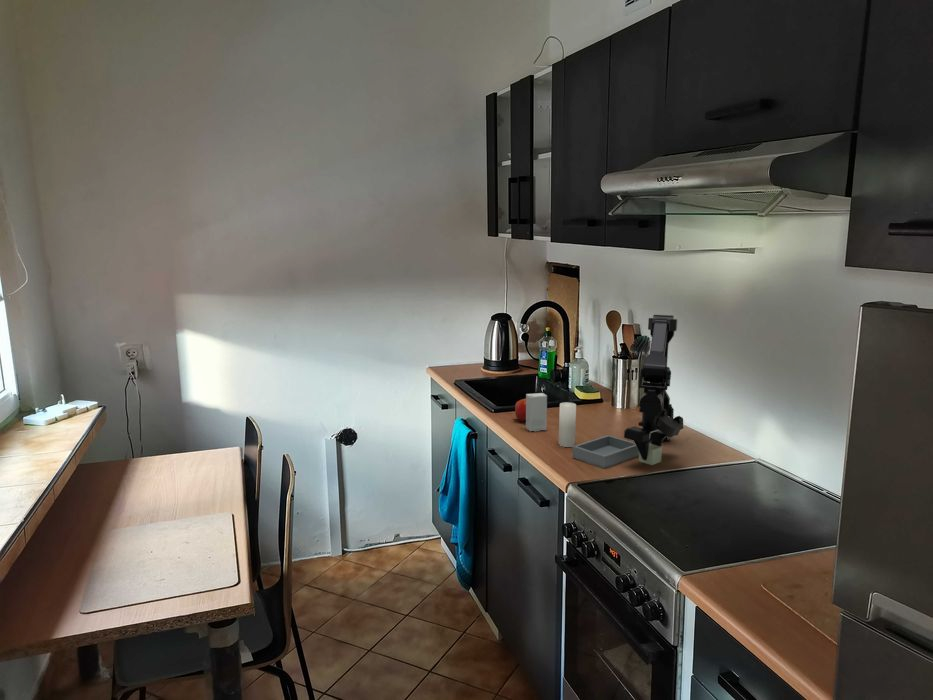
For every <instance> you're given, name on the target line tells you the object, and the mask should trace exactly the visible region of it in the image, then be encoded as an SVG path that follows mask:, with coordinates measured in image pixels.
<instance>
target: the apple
mask: <svg viewBox="0 0 933 700" xmlns="http://www.w3.org/2000/svg"><path fill="white" fill-rule="evenodd" d="M514 409H515V410H514V411H515V414H514V415H515V417H516V419H518V420H519V421H521V420H522V422H525V421H526V398H523V399H522V398H521V399H519V400H518V401H516V403H515V405H514Z"/></svg>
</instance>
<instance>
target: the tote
mask: <svg viewBox="0 0 933 700" xmlns="http://www.w3.org/2000/svg"><path fill="white" fill-rule="evenodd" d="M571 456H572V457H573V458H572V457H571V458H572V459H574V458H576V459H575V460H577V459H578V460H577V461H580V460H581V462H583V461H584V463H586V462H587V464H589V465H592V466H595V467H598V468H601V469H608V468H610V467H612V466H615V465H618V464H620V463H621V464H622V463H623V462H626V461H629V460H631V459H634V458H637V457H639V450H638V448H637V446H636V444H635V442H633V441H630V440H628V439H627V440H626V439H625V438H624V439H623V438H619V437H616V436H613V435H610V434H608V435H603V436H601V437H598V438H595V439H592V440H589V441H588V440H587V441H585V442H582V443H578V444H575V446H573V447H572V455H571Z"/></svg>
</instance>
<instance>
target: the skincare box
mask: <svg viewBox="0 0 933 700" xmlns="http://www.w3.org/2000/svg"><path fill="white" fill-rule="evenodd" d="M525 399H526V422H525V429H526V428H527V429H528V430H529V431H534V432H541V431H540V430H545V431H547V424H548V422H547V418H548V417H547V414H548V410H547V409H548V395H547V394H545V393H543V392H538V393H526V394H525ZM528 430H527V431H528ZM529 431H528V432H529Z"/></svg>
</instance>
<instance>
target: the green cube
mask: <svg viewBox="0 0 933 700" xmlns="http://www.w3.org/2000/svg"><path fill="white" fill-rule="evenodd" d="M662 449H663V446H661V447H660V446H657V445H653V444H651V443H650V444H649V449H648V455H647V460H643V459H642V457H641V454H640V452H639V456H638V462H641V463H643V464H647V465H650V466H654V465H656V464H658V463H659V464H660V463H661V462H662V455H663V453H662V451H663V450H662Z"/></svg>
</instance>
